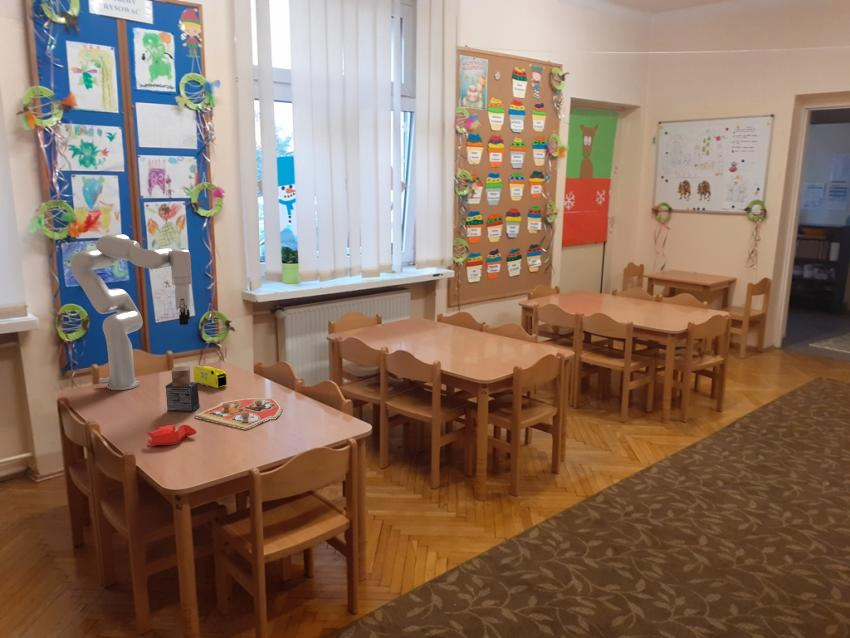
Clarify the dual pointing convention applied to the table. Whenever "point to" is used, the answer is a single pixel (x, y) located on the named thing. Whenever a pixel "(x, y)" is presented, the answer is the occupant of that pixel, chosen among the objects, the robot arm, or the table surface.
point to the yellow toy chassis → (210, 376)
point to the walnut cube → (181, 376)
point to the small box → (182, 397)
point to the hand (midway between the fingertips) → (184, 321)
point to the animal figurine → (169, 435)
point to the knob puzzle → (243, 412)
